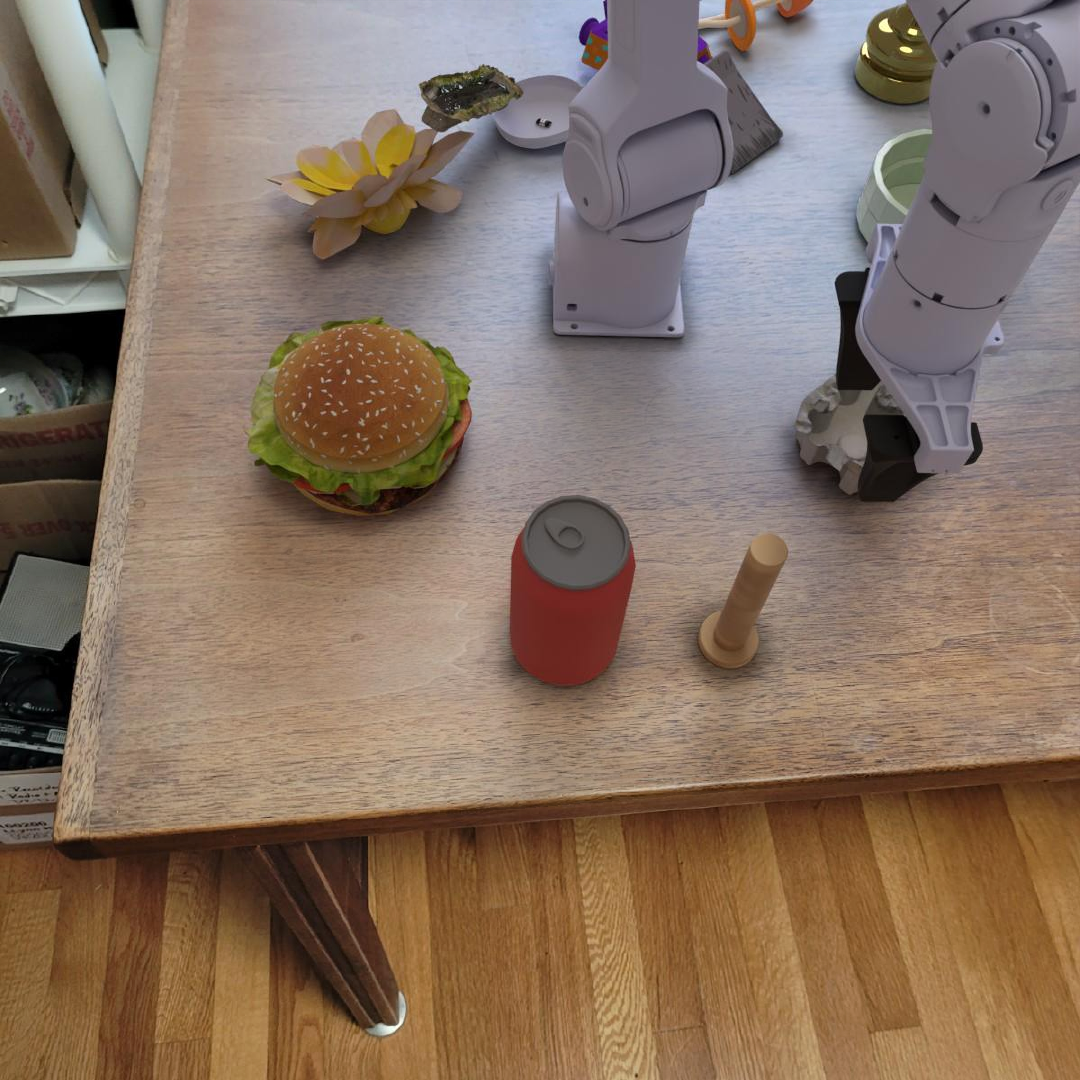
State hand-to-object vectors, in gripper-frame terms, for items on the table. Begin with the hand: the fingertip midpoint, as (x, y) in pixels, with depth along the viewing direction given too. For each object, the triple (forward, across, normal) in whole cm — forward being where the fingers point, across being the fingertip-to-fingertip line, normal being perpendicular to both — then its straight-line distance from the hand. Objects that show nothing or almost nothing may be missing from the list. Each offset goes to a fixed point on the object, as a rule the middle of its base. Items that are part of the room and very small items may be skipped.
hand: (864, 439), depth 59 cm
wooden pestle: (+10, -8, +7) cm, 15 cm away
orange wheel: (+8, +51, +7) cm, 52 cm away
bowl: (+10, +28, -13) cm, 32 cm away
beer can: (+11, -8, +17) cm, 21 cm away
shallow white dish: (+10, +39, +17) cm, 44 cm away
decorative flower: (+10, +29, +30) cm, 43 cm away
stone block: (+3, +34, +21) cm, 40 cm away
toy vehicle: (+11, +44, +7) cm, 46 cm away
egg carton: (+11, +8, -4) cm, 14 cm away
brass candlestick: (+10, +47, -14) cm, 50 cm away
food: (+10, +7, +30) cm, 32 cm away
